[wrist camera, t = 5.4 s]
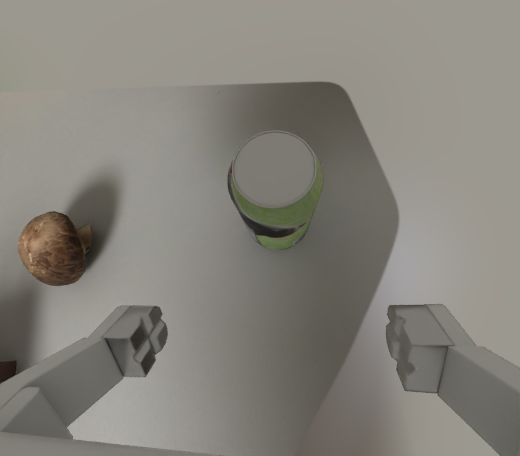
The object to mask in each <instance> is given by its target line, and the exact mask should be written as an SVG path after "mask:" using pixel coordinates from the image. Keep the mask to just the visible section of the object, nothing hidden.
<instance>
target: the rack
mask: <svg viewBox="0 0 520 456" xmlns="http://www.w3.org/2000/svg"><path fill="white" fill-rule="evenodd" d="M15 369H16V361H8V362H0V383H1V382H4V381H6V380H8V379H10V378H12V377H13V376H15Z"/></svg>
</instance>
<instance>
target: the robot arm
mask: <svg viewBox="0 0 520 456" xmlns="http://www.w3.org/2000/svg"><path fill="white" fill-rule="evenodd" d="M387 315H388V318H389V320H390V323H389V324H388V325H387V326H386V339H387V344H388V348H389V352H390V354H391V357H392V358H394V359H395V360H396V361H397V369H396V370H397V372H398V375H399V377H400V380H401V382H402V385H403V387H404V390H405V391H413V392H425V393H438V396H439V397H440V398H441V399H442V400H443V401H444V402H445V403H446V404H447V405H449V406H450V407H451V408H452V409H453V410H454V411H455V412H456V413H457V414H458V415H459V416H460V417H461V418H462V419H463V420H464V421H465V422H466V423H467V424H468V425H469V426H470V427H471V428H472V429H473V430H474V431H475V432H476V433H477V434H479V436H481V437H482V438H483V439H484V440H485V441H486V442H487V443H488V444H489V445H490V446H491V447H492V448H493V449H494V450H495V451H496V452H497V453H498V454H499V455H500V456H520V368H519V367H517V366H516V365H514V364H512V363H510V362H509V361H507V360H505V359H504V358H502V357H500V356H498V355H497V354H495V353H493V352H492V351H490V350H488V349H486V348H485V347H477V346H476V344H475V343H474V342H473V341H472V339H471V338H470V337H469V336H468V334H467V333H466V332H465V330H464V329H463V328H462V327H461V325H460V324H459V323H458V322H457V320H456V319H455V318H454V317H453V315H452V314H451V313H450V312H449V311H448V309H447V308H446V307H445V306H444V305H442V304H427V305H426V304H424V305H390V306H389V307H388V313H387ZM161 316H162V312H161V309H160V307H157V306H134V305H133V306H123V305H122V306H119V307H117V308H116V309H115V310H114V311H113V312H112V313H111V314H110V315H109V316H108V317H107V318H106V319H105V320H104V322H103V323H102V324H101V325H100V326H99V327H98V328H97V329H96V330H95V331H94V332H93V333H92V334H91V335H90V336H89V337H88V338H83V339H81V340H79V341H77V342H75V343H73V344H72V345H70V346H68V347H66V348H64V349H63V350H61V351H59V352H57V353H55V354H53V355H52V356H50V357H48V358H46V359H44V360H43V361H41V362H39V363H37V364H35V365H33V366H32V367H30V368H28V369H26V370H24V371H23V372H21V373H19V374H17V375H15V376H13V377H12V378H10V379H8V380H6V381H4V382H2V383H1V384H0V456H222V455H213V454H204V453H194V452H185V451H176V450H166V449H157V448H148V447H138V446H129V445H120V444H111V443H101V442H92V441H83V440H74V439H73V436H72V435H71V433H70V432H69V430H68V429H67V427H68V426H69V425H70V424H71V423H72V422H73V421H75V420H76V419H77V418H78V417H79V416H80V415H82V414H83V413H84V412H85V411H86V410H87V409H88V408H90V407H91V406H92V405H93V404H94V403H95V402H97V401H98V400H99V399H100V398H101V397H102V396H103V395H105V394H106V393H107V392H108V391H109V390H110V389H112V388H113V387H114V386H115V385H116V384H117V383H119V382H120V381H121V380H122V379H123V377H146V376H147V374H148V372H149V371H150V369H151V367H152V366H153V364H154V362H155V361H156V359H155V354H157V353H158V352H159V351H161V350H162V349H163V347H164V345H165V343H166V340H167V336H168V331H167V326H166V323H165V322H163V321H162V320H161Z"/></svg>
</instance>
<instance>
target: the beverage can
mask: <svg viewBox="0 0 520 456" xmlns="http://www.w3.org/2000/svg"><path fill="white" fill-rule="evenodd" d="M322 185H323V171H322V168H321V164H320V162H319V160H318V158H317V156H316V155H315V153H314V152H313V151H312V149H311V148H310V147H309V145H308V144H307V143H306V142H305V141H304V140H303V139H302V138H300V137H298V136H297V135H295V134H292V133H290V132H286V131H279V130H272V131H265V132H261V133H259V134H256V135H254V136H253V137H251V138H249V139H248V140H247V141H245V142H244V143H243V144H242V146H241V147H240V148H239V149H238V151H237V152H236V154H235V157H234V159H233V161H232V163H231V165H230V168H229V172H228V190H229V194H230V196H231V199H232V201H233V203H234V205H235V206H236V208H237V210H238V212H239V213H240V215H241V217H242V219H243V221H244V222H245V224H246V226H247V228H248V229H249V231H250V233H251V235H252V236H253V238H254V239H255V240H256V241H257V242H258V243H259V244H261V245H262V246H264V247H266V248H269V249H275V250H282V249H287V248H290V247H292V246H294V245H295V244H297V243H298V242H299V241H300V240H301V239H302V238H303V237H304V235H305V234H306V232H307V229H308V227H309V224H310V221H311V218H312V216H313V213H314V210H315V207H316V205H317V202H318V199H319V196H320V193H321V190H322Z"/></svg>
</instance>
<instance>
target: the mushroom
mask: <svg viewBox="0 0 520 456" xmlns="http://www.w3.org/2000/svg"><path fill="white" fill-rule="evenodd" d="M91 241H92V227H91V224H88V225H86V226H84V227H82V228H79V229H76V228H75V227H74V225H73V223H72V222H71V220H70V219H69V217H68V216H67V215H64V214H62V213H58V212H55V211H54V212H48V213H45V214H43V215H40V216H38V217H35V218H34V219H33V220H31V221H30V222H29V223H28V224H27V226H26V227H25V228H24V230H23V232H22V234H21V236H20V238H19V241H18V252H19V255H20V257H21V259H22V262H23V264H24V266H25V267H26V268H27V269H28V271H29V272H30V273H31V274H32V275H33V276H34V277H35V278H37V279H38V280H39V281H41V282H43V283H45V284H48V285H53V286H61V285H68V284H71V283H74V282H76V281H78V280H79V279H80V277H81V276H82V275H83V273H84V272H85V263H86V260H85V253H87V252H88V251H89V250H90V247H91Z"/></svg>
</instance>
